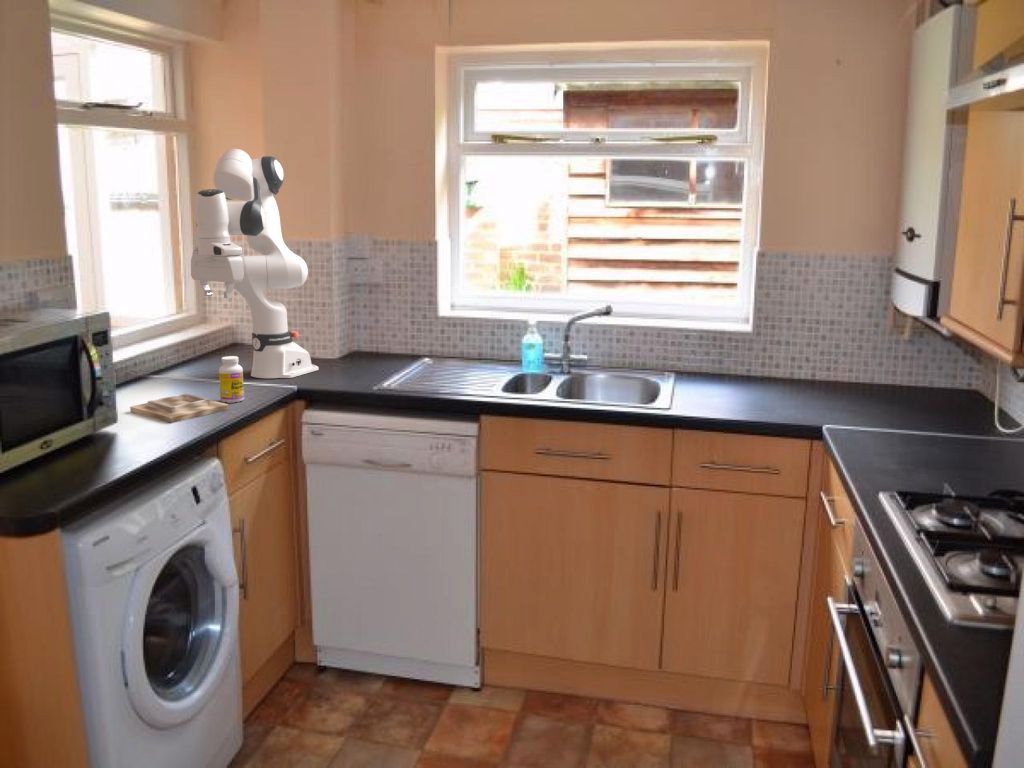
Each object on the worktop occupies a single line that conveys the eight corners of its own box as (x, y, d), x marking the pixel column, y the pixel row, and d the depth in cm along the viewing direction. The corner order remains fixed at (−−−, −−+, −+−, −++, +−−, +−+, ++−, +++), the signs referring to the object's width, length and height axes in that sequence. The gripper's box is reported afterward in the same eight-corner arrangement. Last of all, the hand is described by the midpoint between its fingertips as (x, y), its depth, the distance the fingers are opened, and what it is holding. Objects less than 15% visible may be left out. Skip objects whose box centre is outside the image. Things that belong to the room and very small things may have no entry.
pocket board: (187, 399, 271) (187, 389, 270) (229, 409, 259) (228, 399, 258) (130, 411, 257) (129, 401, 256) (171, 423, 245) (170, 412, 244)
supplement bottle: (231, 404, 264) (228, 360, 262) (216, 401, 268) (212, 358, 265) (249, 399, 270) (246, 356, 267) (234, 397, 273) (230, 354, 270)
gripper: (183, 247, 264) (187, 296, 267) (226, 249, 252) (230, 300, 255) (202, 246, 269) (205, 294, 272) (246, 248, 257) (249, 298, 260)
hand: (218, 297), depth 263 cm, fingers open, 8 cm apart
